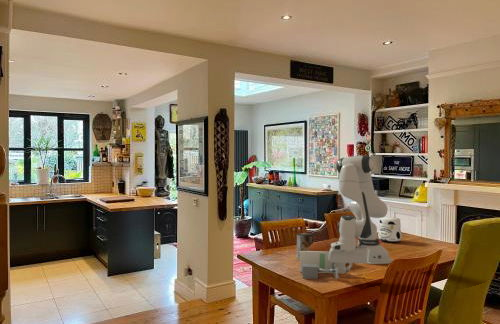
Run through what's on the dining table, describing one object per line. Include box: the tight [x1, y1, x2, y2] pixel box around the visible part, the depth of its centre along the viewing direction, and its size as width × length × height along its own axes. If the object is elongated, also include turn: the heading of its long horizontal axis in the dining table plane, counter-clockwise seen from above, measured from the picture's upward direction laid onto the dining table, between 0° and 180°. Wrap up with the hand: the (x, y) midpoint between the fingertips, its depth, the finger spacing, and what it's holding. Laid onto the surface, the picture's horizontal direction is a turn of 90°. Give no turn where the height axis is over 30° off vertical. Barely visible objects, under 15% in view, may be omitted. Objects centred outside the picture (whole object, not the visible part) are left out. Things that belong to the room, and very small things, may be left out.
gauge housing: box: [299, 251, 346, 280], centre depth 206 cm, size 26×12×12 cm, turn 86°
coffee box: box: [296, 232, 314, 260], centre depth 241 cm, size 9×6×16 cm
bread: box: [307, 237, 339, 252], centre depth 229 cm, size 25×12×15 cm, turn 131°
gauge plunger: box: [318, 263, 339, 280], centre depth 205 cm, size 12×12×10 cm
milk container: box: [377, 216, 402, 243], centre depth 294 cm, size 17×17×18 cm
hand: (347, 270), depth 202 cm, fingers closed
